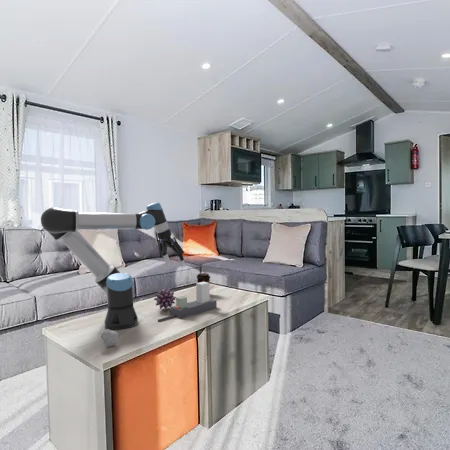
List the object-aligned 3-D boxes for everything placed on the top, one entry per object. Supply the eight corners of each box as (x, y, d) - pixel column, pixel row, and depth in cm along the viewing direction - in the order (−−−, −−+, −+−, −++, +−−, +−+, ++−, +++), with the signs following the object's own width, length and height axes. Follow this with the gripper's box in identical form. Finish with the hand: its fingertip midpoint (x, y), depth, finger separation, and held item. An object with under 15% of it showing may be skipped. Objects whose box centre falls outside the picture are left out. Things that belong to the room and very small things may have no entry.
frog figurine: (98, 346, 136) (97, 329, 136) (116, 341, 140) (115, 325, 140) (102, 351, 131) (102, 333, 131) (120, 346, 135) (120, 329, 135)
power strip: (162, 323, 160) (162, 313, 160) (153, 319, 166) (153, 310, 166) (216, 307, 183) (216, 299, 183) (207, 304, 189) (207, 296, 189)
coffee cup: (194, 296, 208) (194, 275, 207) (199, 292, 216) (198, 272, 215) (208, 296, 206) (208, 275, 205) (212, 293, 214) (211, 273, 213)
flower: (152, 313, 176) (151, 290, 176) (156, 306, 188) (155, 285, 188) (174, 312, 177) (173, 290, 176) (177, 305, 189) (176, 284, 188)
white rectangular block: (202, 305, 179) (201, 284, 178) (196, 303, 182) (196, 283, 181) (209, 303, 182) (209, 282, 181) (204, 301, 186) (203, 281, 185)
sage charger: (180, 308, 170) (180, 299, 169) (176, 307, 173) (175, 297, 172) (187, 307, 172) (186, 297, 172) (182, 305, 175) (182, 296, 175)
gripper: (181, 226, 176) (195, 263, 181) (156, 229, 194) (168, 262, 199) (170, 232, 171) (184, 269, 176) (145, 234, 190) (158, 268, 194)
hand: (176, 265), depth 187 cm, fingers open, 13 cm apart
